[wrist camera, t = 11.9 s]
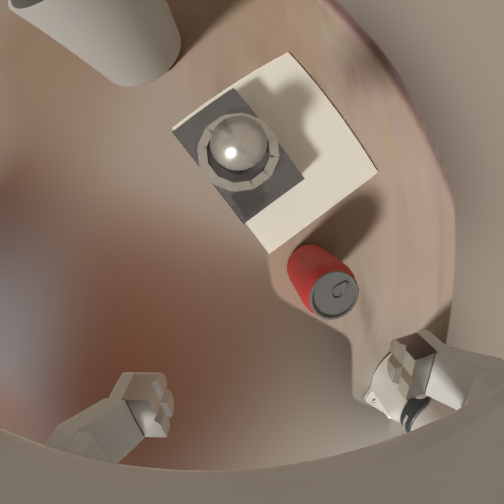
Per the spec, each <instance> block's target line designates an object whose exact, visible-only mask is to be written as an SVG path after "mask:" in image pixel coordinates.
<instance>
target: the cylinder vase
mask: <svg viewBox="0 0 504 504" xmlns="http://www.w3.org/2000/svg"><path fill="white" fill-rule="evenodd" d="M8 6H9V8H10V9H11V10H12V11H13V12H15V13H16V14H18V15H19V16H21V17H23V18H24V19H25V20H27V21H29V22H30V23H31V24H33V25H34V26H36V27H37V28H39V29H41V30H42V31H43V32H45V33H46V34H48V35H50V36H51V37H52V38H53V39H55V40H56V41H58V42H59V43H60V44H62V45H63V46H65V47H66V48H67V49H69V50H70V51H72V52H73V53H74V54H76V55H77V56H78V57H80V58H81V59H83V60H84V61H85V62H87V63H88V64H89V65H91V66H92V67H93V68H95V69H96V70H97V71H99V72H100V73H101V74H103V75H104V76H105V77H107V78H108V79H109V80H110V81H112V82H113V83H115V84H117V85H120V86H126V87H134V86H140V85H144V84H147V83H149V82H151V81H153V80H155V79H157V78H159V77H160V76H161V75H163V74H164V73H165V72H166V71H167V70H168V69H169V68H170V67H171V66H172V65H173V64H174V62H175V61H176V59H177V57H178V55H179V52H180V49H181V37H180V33H179V31H178V28H177V26H176V23H175V21H174V18H173V16H172V13H171V11H170V8H169V6H168V3H167V1H166V0H8Z"/></svg>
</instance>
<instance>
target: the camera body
mask: <svg viewBox="0 0 504 504" xmlns="http://www.w3.org/2000/svg"><path fill="white" fill-rule="evenodd" d="M232 116H246V117H249V118H251V119H253V120H255V121H256V122H258V123H259V124H260V125H261V126H262V128H263V129H264V131H265V134H266V137H267V149H266V152H265V154H264V156H263V158H262V159H261V160H260V161H259V162H258V163H257V164H256V165H255V166H254V167H253V168H252V169H250V170H248V171H246V172H242V173H235V172H231V171H228V170H227V169H225V168H224V167H223V166H222V165H221V164H220V163H218V162H217V160H216V159H215V158H214V156H213V154H212V152H211V148H210V138H211V135H212V132H213V130H214V129H215V127H216V126H217V125H218V124H219V123H220V122H221V121H223V120H224V119H226V118H229V117H232ZM173 134H174V135H175V136H176V138H177V139H178V140H179V141H180V143H181V144H182V145H183V147H184V148H185V149H186V150H187V152H188V153H189V154H190V155H191V157H192V158H193V159H194V161H195V162H196V163H197V164H198V166H199V167H200V168H201V170H202V171H203V172H204V174H205V175H206V176H207V177H208V179H209V180H210V181H211V183H212V184H213V185H214V186H215V188H216V189H217V190H218V192H219V193H220V194H221V195H222V196H223V198H224V199H225V201H226V202H227V203H228V204H229V206H230V207H231V208H232V209H233V211H234V212H235V214H236V215H237V216H238V217H239V219H240V220H241V221H242V222H243V224H244V223H246V222H247V221H248V220H250V219H251V218H252V217H254V216H255V215H256V214H258V213H259V212H260V211H262V210H263V209H264V208H266V207H267V206H268V205H270V204H271V203H273V202H274V201H275V200H277V199H278V198H279V197H281V196H282V195H283V194H285V193H286V192H288V191H289V190H290V189H292V188H293V187H294V186H296V185H297V184H298V183H300V182H301V181H303V180H304V179H305V178H304V177H303V175H302V174H301V173H300V171H299V170H298V168H297V167H296V166H295V164H294V163H293V162H292V160H291V159H290V158H289V156H288V155H287V153H286V152H285V151H284V149H283V148H282V147H281V146H280V144H279V143H278V141H277V138H276V135H275V134H274V132H273V131H272V130H271V129H270V127H269V126H268V125H267V124H266V122H265V121H264V122H263V120H262V119H259V117H258V116H257V115H256V114H255V112H254V111H253V110H252V109H251V108H250V106H249V105H248V104H247V103H246V102H245V100H244V99H243V98H242V97H241V96H240V94H239V93H238V92H237V91H236V90H235V89H234V88H232V89H231V90H229V91H228V92H226V93H225V94H223V95H222V96H220V97H219V98H217V99H216V100H214V101H213V102H211V103H210V104H209V105H207V106H206V107H204V108H203V109H202V110H200V111H199V112H198V113H196V114H195V115H193V116H192V117H191V118H189V119H188V120H187V121H185V122H184V123H183V124H182V125H180V126H179V127H178V128H176V129H175V130H174V131H173Z"/></svg>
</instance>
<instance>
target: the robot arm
mask: <svg viewBox="0 0 504 504" xmlns="http://www.w3.org/2000/svg"><path fill="white" fill-rule="evenodd" d="M389 350H390V351H391V353H390V354H389V355H388V356H387V357H386V358H385V359H384V360H383V361H382V362H381V364H380V365H379V367H378V368H377V370H376V372H375V374H374V376H373V380H372V384H371V387H370V388H369V390H368V391H367V393H366V395H365V397H364V399H365V400H366V401H367V402H368V403H369V404H371V405H372V406H374V407H376V408H377V409H379V410H380V411H382V412H384V413H385V414H386V415H387V417H388V418H389V419H390V418H392V419H393V420H394V421H397V422H399V423H401V424H402V426H403V428H404V430H405V431H406V433H405V434H403V435H400V436H397V437H394V438H392V439H389V440H386V441H383V442H380V443H377V444H374V445H371V446H368V447H364V448H361V449H358V450H354V451H350V452H347V453H343V454H339V455H335V456H330V457H326V458H322V459H317V460H312V461H307V462H301V463H295V464H289V465H282V466H275V467H266V468H257V469H246V470H245V469H244V470H225V471H186V470H184V471H183V470H167V469H155V468H145V467H137V466H129V465H123V464H117V463H118V462H119V461H120V460H121V459H122V458H124V457H125V455H127V454H128V453H129V452H130V451H131V450H132V449H133V448H134V447H135V446H136V445H137V444H138V443H139V442H140V441H141V440H143V439H144V437H167V433H168V430H169V426H170V423H169V421H168V419H169V418H170V417H171V416H172V414H173V410H174V409H173V407H174V402H173V397H172V394H171V392H170V391H169V390H168V389H167V388H166V384H167V381H166V378H165V376H164V374H162V373H135V372H125V373H123V374H122V375H121V377H120V378H119V380H118V382H117V384H116V385H115V387H114V389H113V391H112V393H111V394H110V396H109V398H108V399H103V400H101V401H100V402H98V403H96V404H95V405H93V406H91V407H89V408H88V409H86V410H84V411H82V412H81V413H79V414H77V415H76V416H74V417H72V418H70V419H68V420H67V421H65V422H63V423H61V424H59V425H58V426H57V427H56V429H55V431H54V432H53V434H52V435H51V437H50V439H49V440H48V442H47V443H46V445H45V446H44V445H41V444H39V443H36V442H33V441H30V440H28V439H25V438H22V437H20V436H17V435H15V434H12V433H10V432H8V431H6V430H3V429H1V428H0V504H504V360H503V359H501V358H498V357H493V356H489V355H484V354H480V353H475V352H471V351H467V350H462V349H458V348H454V347H451V348H448V347H447V346H446V345H445V344H444V343H443V342H441V341H440V340H439V339H438V338H437V337H436V336H434V335H433V334H432V333H431V332H430V331H428V330H422V331H419V332H416V333H414V334H411V335H408V336H404V337H401V338H397V339H394V340H392V341H391V343H390V349H389Z"/></svg>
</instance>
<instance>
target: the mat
mask: <svg viewBox="0 0 504 504" xmlns="http://www.w3.org/2000/svg"><path fill="white" fill-rule="evenodd" d="M232 88H234V89H235V90H236V91H237V92H238V93H239V94H240V96H241V97H242V98H243V99H244V100H245V102H246V103H247V104H248V105H249V106H250V108H251V109H252V110H253V111H254V112H255V114H256V115H257V116H258V117H259V119H262V120H263V122H264V121H265V122H266V124H267V125H268V126H269V127H270V129H271V130H272V131H273V132H274V134H275V135H276V138H277V141H278V143H279V144H280V146H281V147H282V148H283V149H284V151H285V152H286V153H287V155H288V156H289V158H290V159H291V160H292V162H293V163H294V164H295V166H296V167H297V168H298V170H299V171H300V173H301V174H302V175H303V177H304V178H305V179H304V180H303V181H301V182H300V183H298V184H297V185H296V186H294V187H293V188H292V189H290V190H289V191H288V192H286V193H285V194H283V195H282V196H281V197H279V198H278V199H277V200H275V201H274V202H273V203H271V204H270V205H268V206H267V207H266V208H264V209H263V210H262V211H260V212H259V213H258V214H256V215H255V216H254V217H252V218H251V219H250V220H248V221H247V222H246V224H247V225H248V227H249V228H250V229H251V230H252V232H253V233H254V234H255V236H256V237H257V238H258V240H259V241H260V242H261V244H262V245H263V246H264V248H265V249H266V250H267V251H268V253H269V254H270V253H271V252H272V251H274V250H275V249H276V248H278V247H279V246H280V245H282V244H283V243H285V242H286V241H287V240H289V239H290V238H291V237H293V236H294V235H295V234H297V233H298V232H299V231H301V230H302V229H303V228H305V227H306V226H307V225H309V224H310V223H311V222H313V221H314V220H315V219H317V218H318V217H319V216H321V215H322V214H323V213H325V212H326V211H327V210H329V209H330V208H331V207H333V206H334V205H335V204H337V203H338V202H339V201H341V200H342V199H343V198H345V197H346V196H347V195H349V194H350V193H351V192H353V191H354V190H355V189H357V188H358V187H359V186H361V185H362V184H363V183H365V182H366V181H367V180H369V179H370V178H371V177H373V176H374V175H375V174H376V173H378V172H377V170H376V168H375V167H374V165H373V164H372V162H371V160H370V159H369V157H368V156H367V154H366V152H365V151H364V149H363V148H362V146H361V145H360V143H359V142H358V140H357V139H356V137H355V136H354V134H353V133H352V131H351V130H350V128H349V127H348V126H347V124H346V123H345V121H344V120H343V119H342V117H341V116H340V114H339V113H338V112H337V110H336V109H335V108H334V106H333V105H332V104H331V102H330V101H329V100H328V99H327V97H326V96H325V95H324V93H323V92H322V91H321V90H320V88H319V87H318V86H317V85H316V83H315V82H314V81H313V80H312V79H311V77H310V76H309V75H308V74H307V73H306V71H305V70H304V69H303V68H302V67H301V66H300V65H299V63H298V62H297V61H296V60H295V59H294V58H293V57H292V56H291V55H290V53H289V52H287V53H285V54H284V55H282V56H280V57H278V58H276V59H274V60H273V61H271V62H269V63H267V64H266V65H264V66H262V67H260V68H259V69H257V70H255V71H254V72H252V73H250V74H249V75H247V76H245V77H244V78H242V79H241V80H239V81H237V82H236V83H234V84H233V85H231V86H230V87H228V88H227V89H225V90H224V91H222V92H221V93H219V94H218V95H216V96H215V97H213V98H212V99H210V100H209V101H208V102H206V103H205V104H203V105H202V106H201V107H199V108H198V109H196V110H195V111H194V112H192V113H191V114H190V115H188V116H187V117H186V118H184V119H183V120H182V121H180V122H179V123H178V124H177V125H175V126H174V127H173V128H172V129H173V130H175V129H176V128H178V127H179V126H180V125H182V124H183V123H184V122H185V121H187V120H188V119H189V118H191V117H192V116H193V115H195V114H196V113H198V112H199V111H200V110H202V109H203V108H204V107H206V106H207V105H209V104H210V103H211V102H213V101H214V100H216V99H217V98H219V97H220V96H222V95H223V94H225V93H226V92H228V91H229V90H231V89H232Z"/></svg>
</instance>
